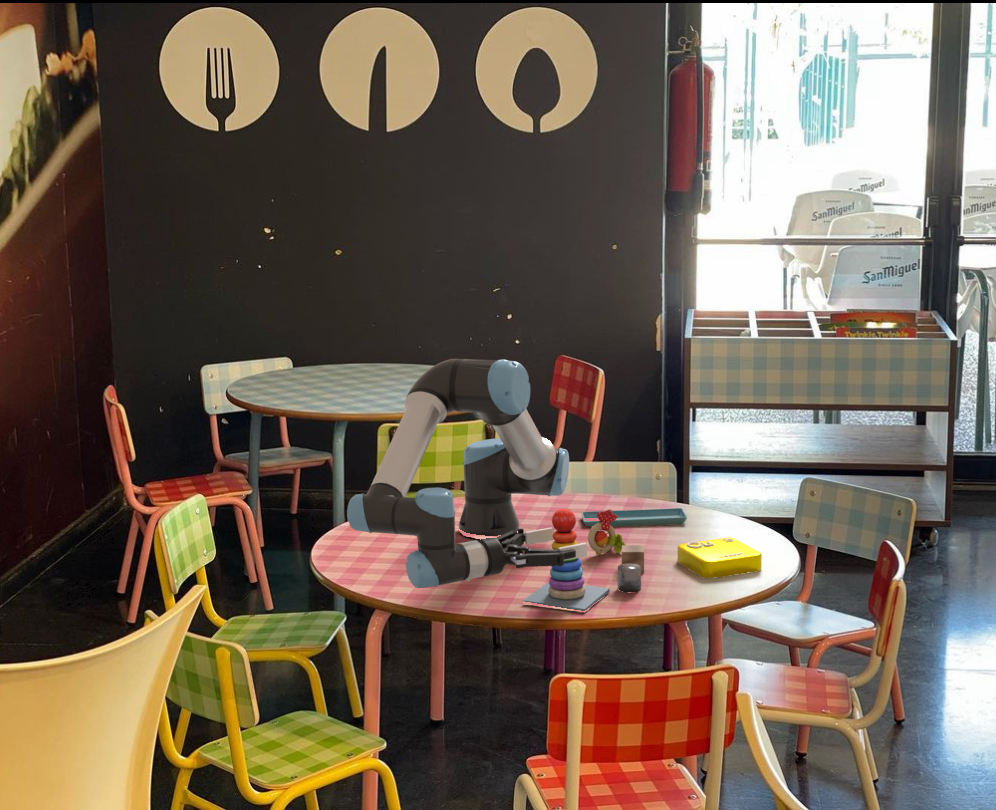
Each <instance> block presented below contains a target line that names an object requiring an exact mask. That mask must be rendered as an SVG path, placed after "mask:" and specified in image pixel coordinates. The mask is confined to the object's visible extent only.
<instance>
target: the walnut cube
mask: <svg viewBox="0 0 996 810" xmlns="http://www.w3.org/2000/svg"><path fill="white" fill-rule="evenodd" d="M621 564H637V565H639V566H641V574H645V545H635V544H634V545H633V544H632V545H629V544H628V545H627V544H626V545H622V550H621Z"/></svg>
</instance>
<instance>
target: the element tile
mask: <svg viewBox="0 0 996 810" xmlns="http://www.w3.org/2000/svg"><path fill="white" fill-rule="evenodd" d="M762 560H763V559H762V552H761V551H758V550H757V549H755V548H753V547H751V546H749V545H747V544H746V543H744V542H742V541H740V540H738V539H736V538H733V537H731V536H729V537H721V538H713V539H706V540H699V541H689V542H683V543H679V544H678V545H677V563H678V564H679V563H680V565H681V566H683V567H684V566H685V568H686V569H687V570H689V569H690V570H689V571H691V572H692V571H693V572H692V573H694V574H696V575H697V574H698V575H697V576H699V575H700V576H699V577H701V578H703V577H704V578H703V579H715V578H714V577H718V578H724V577H723V576H725V577H730V576H729V575H732V576H736V575H735V574H739V575H742V574H741V573H746V574H748V573H747V572H753V573H756V572H755V571H758V572H761V571H762ZM760 570H761V571H760Z"/></svg>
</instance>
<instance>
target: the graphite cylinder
mask: <svg viewBox="0 0 996 810" xmlns="http://www.w3.org/2000/svg"><path fill="white" fill-rule="evenodd" d="M618 589H619V590H620V591H619V590H618ZM617 590H618V591H619V592H621V591H623V592H622V593H625V592H635V593H638V592H640V591H641V590H642V573H641V566H639V565H637V564H622V563H621V564H618V565H617Z"/></svg>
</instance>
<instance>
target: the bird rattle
mask: <svg viewBox="0 0 996 810" xmlns="http://www.w3.org/2000/svg"><path fill="white" fill-rule="evenodd" d="M600 511H601V512H598V513H597V514H596V515H597V518H598V519H599V523H597V524H595V525H594V526H593V527H590V530H589V532H588V536H587V542H588V545H589V547H590V548H591V550H592V551H593V552H595V554H596V556H601V555H602V554H605V553H608V552H610V550H611V549H613V551H614V553H616V554H620V553H621V552H622V545H627V544H626V543H625V542H624V540H623V537H622V535H621V534H620V533H616V531H615V529H614V526H611V525H610V524H609V523H611V522H613V521H614V520H616V519H617V515H615V514H613V513H612V511H613V510H612V509H607V510H600ZM602 511H603V512H602ZM606 532H607V533H606Z"/></svg>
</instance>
